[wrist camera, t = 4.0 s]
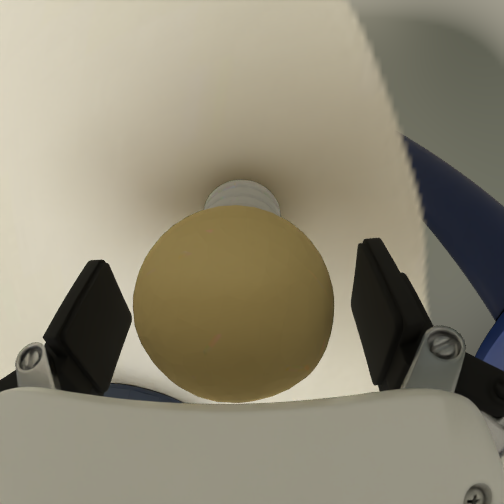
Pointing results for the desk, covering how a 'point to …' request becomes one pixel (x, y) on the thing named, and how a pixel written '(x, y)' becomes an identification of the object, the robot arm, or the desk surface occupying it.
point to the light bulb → (234, 299)
